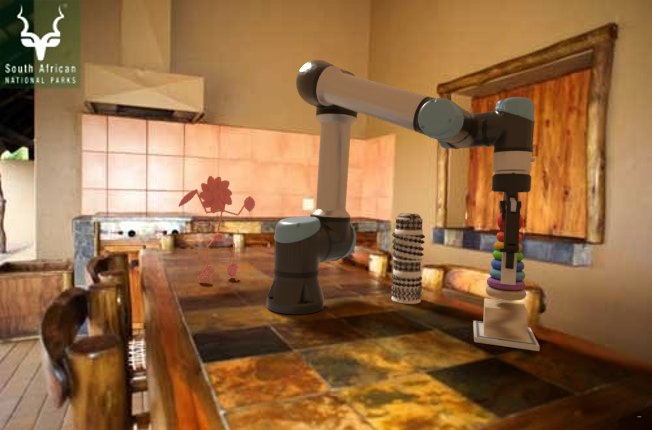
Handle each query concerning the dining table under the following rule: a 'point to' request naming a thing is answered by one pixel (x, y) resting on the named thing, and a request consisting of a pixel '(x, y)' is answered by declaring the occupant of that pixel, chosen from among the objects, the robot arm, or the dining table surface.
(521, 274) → the stacking toy
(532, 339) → the board
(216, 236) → the figurine
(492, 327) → the birch block
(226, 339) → the dining table surface
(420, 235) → the decorative candle
